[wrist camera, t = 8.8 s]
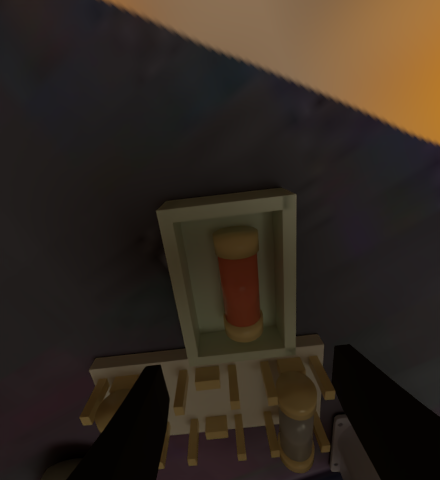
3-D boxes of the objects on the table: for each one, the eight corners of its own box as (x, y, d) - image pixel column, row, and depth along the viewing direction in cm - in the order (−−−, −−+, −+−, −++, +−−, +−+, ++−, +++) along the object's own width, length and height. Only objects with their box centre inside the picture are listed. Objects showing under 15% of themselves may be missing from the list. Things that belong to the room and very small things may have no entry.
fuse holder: (314, 407, 24) (335, 459, 19) (123, 427, 24) (104, 482, 20) (317, 334, 20) (344, 378, 16) (95, 358, 20) (66, 407, 16)
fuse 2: (310, 433, 21) (317, 476, 18) (277, 429, 21) (279, 470, 18) (312, 372, 18) (321, 411, 15) (274, 369, 18) (276, 406, 16)
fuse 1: (158, 442, 21) (155, 484, 18) (126, 451, 21) (118, 494, 18) (139, 385, 19) (132, 423, 16) (102, 393, 18) (88, 434, 16)
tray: (283, 326, 20) (295, 355, 17) (192, 336, 20) (189, 366, 17) (281, 187, 16) (296, 194, 13) (166, 201, 16) (155, 210, 13)
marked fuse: (252, 310, 19) (270, 334, 16) (219, 321, 18) (233, 347, 15) (246, 223, 16) (266, 234, 14) (207, 231, 15) (220, 244, 13)
